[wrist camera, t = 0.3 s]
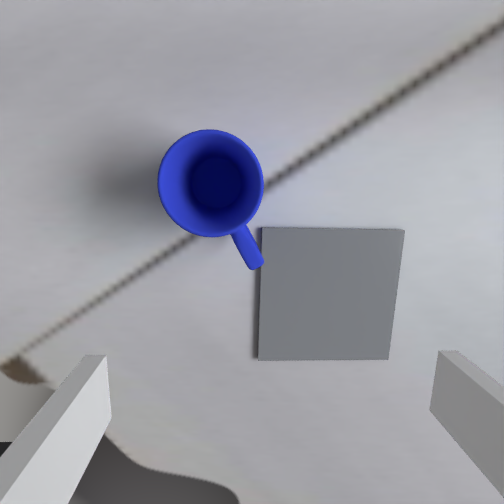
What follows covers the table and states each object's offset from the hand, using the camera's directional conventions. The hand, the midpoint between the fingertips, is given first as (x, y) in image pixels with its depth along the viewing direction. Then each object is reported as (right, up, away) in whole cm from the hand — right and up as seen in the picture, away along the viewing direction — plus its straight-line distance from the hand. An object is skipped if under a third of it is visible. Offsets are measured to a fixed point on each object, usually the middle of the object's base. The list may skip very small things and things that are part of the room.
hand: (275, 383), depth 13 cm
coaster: (+8, 0, +26) cm, 27 cm away
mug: (-4, +11, +23) cm, 25 cm away
